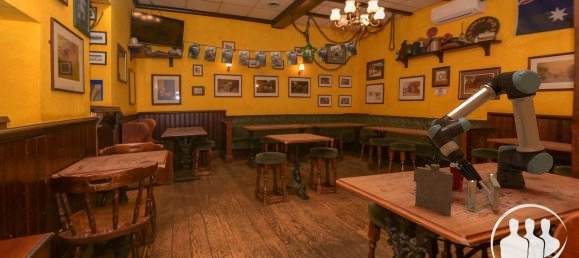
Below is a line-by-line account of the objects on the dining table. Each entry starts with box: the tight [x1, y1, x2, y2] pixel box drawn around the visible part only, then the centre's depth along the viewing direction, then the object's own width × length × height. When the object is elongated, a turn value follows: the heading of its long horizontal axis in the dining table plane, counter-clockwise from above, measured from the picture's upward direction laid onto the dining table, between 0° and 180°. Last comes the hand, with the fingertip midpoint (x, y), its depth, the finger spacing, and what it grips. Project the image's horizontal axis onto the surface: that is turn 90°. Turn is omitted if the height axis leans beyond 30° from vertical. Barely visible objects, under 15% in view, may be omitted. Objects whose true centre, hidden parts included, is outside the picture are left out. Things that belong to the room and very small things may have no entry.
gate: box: [489, 177, 502, 211], centre depth 132 cm, size 18×2×10 cm, turn 151°
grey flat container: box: [413, 163, 431, 182], centre depth 178 cm, size 11×3×10 cm, turn 113°
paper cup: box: [449, 162, 465, 192], centre depth 160 cm, size 8×8×14 cm
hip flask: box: [414, 163, 453, 217], centre depth 128 cm, size 16×4×20 cm, turn 32°
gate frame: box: [462, 172, 497, 213], centre depth 135 cm, size 25×5×13 cm, turn 127°
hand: (487, 194), depth 132 cm, fingers closed
